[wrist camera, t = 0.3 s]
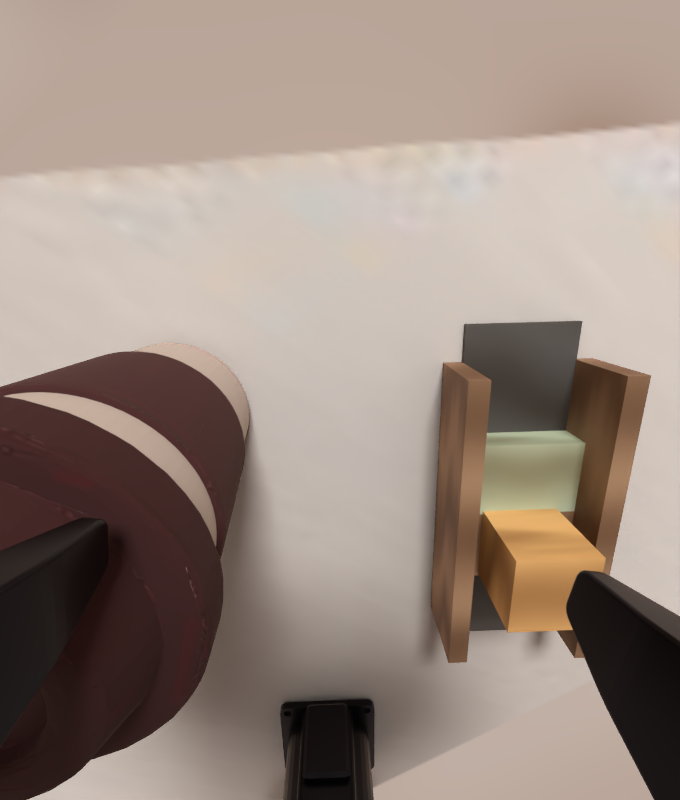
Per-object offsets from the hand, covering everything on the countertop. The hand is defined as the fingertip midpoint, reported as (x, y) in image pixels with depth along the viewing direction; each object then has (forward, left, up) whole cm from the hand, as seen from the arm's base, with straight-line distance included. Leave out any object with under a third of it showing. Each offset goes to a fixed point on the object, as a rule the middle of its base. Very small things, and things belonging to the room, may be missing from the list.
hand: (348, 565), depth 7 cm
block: (-9, -10, -12) cm, 18 cm away
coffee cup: (-1, +8, -14) cm, 17 cm away
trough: (-7, -10, -14) cm, 19 cm away
